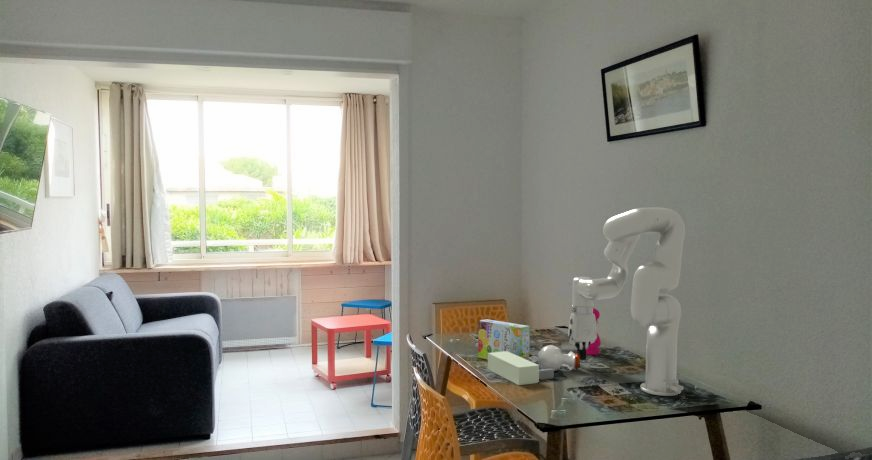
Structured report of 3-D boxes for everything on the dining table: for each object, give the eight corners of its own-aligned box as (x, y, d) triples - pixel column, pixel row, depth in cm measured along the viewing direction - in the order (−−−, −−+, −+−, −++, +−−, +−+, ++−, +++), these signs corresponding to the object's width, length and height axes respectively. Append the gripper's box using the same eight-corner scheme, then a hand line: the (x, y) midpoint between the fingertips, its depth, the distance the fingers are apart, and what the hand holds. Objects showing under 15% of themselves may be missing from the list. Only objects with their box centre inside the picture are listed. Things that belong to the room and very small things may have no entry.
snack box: (530, 365, 241) (530, 325, 240) (521, 367, 236) (521, 327, 236) (486, 355, 255) (486, 318, 254) (477, 358, 251) (477, 320, 250)
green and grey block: (558, 380, 220) (558, 363, 220) (518, 385, 214) (518, 367, 214) (525, 364, 240) (525, 349, 240) (487, 369, 234) (487, 353, 234)
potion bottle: (534, 373, 233) (573, 377, 235) (542, 364, 225) (583, 368, 227) (533, 350, 238) (572, 354, 240) (540, 339, 230) (580, 344, 232)
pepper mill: (601, 355, 255) (601, 306, 255) (582, 354, 257) (583, 305, 256) (600, 351, 263) (600, 303, 262) (582, 350, 264) (582, 302, 263)
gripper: (571, 313, 230) (570, 363, 231) (605, 310, 236) (604, 359, 237) (559, 309, 237) (558, 358, 238) (592, 307, 243) (591, 355, 244)
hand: (581, 359), depth 237 cm, fingers closed
